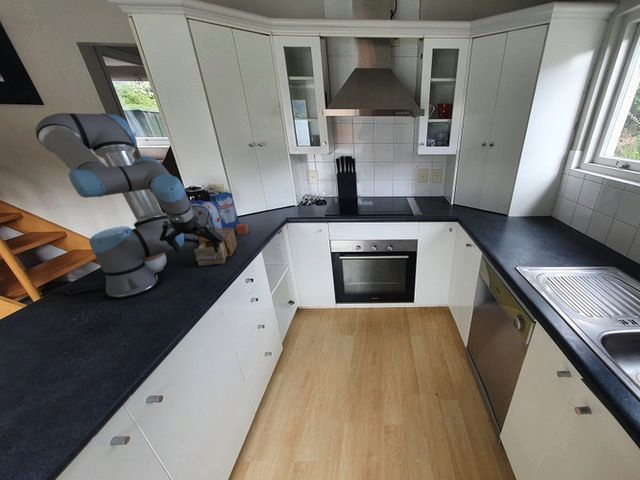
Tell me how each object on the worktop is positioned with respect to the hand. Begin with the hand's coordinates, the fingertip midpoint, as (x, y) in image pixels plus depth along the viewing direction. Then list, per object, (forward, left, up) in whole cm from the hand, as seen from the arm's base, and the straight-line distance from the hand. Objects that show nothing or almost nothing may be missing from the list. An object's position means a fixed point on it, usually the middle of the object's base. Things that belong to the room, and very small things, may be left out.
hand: (197, 249), depth 110 cm
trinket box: (-25, +2, -12) cm, 28 cm away
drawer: (-4, +12, -11) cm, 16 cm away
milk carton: (-26, +58, -12) cm, 65 cm away
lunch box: (-29, +38, -12) cm, 49 cm away
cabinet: (-8, +23, -12) cm, 27 cm away
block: (-11, +48, -12) cm, 51 cm away
